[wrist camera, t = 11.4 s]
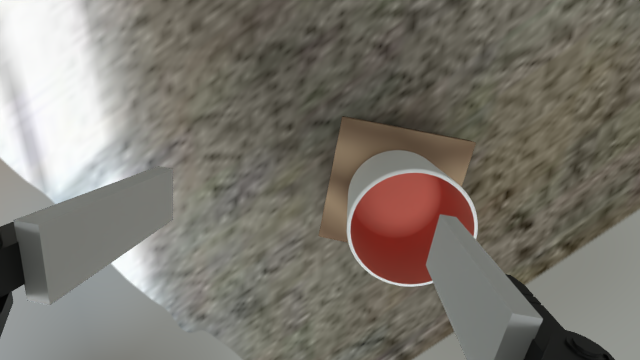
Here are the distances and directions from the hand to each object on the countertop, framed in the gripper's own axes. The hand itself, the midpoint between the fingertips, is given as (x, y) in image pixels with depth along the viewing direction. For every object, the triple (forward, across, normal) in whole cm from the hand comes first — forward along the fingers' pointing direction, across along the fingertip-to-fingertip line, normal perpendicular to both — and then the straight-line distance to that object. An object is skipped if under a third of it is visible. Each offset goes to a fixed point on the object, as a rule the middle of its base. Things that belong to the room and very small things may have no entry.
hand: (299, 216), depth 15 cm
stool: (+27, +8, -4) cm, 28 cm away
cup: (+19, +8, -4) cm, 21 cm away
